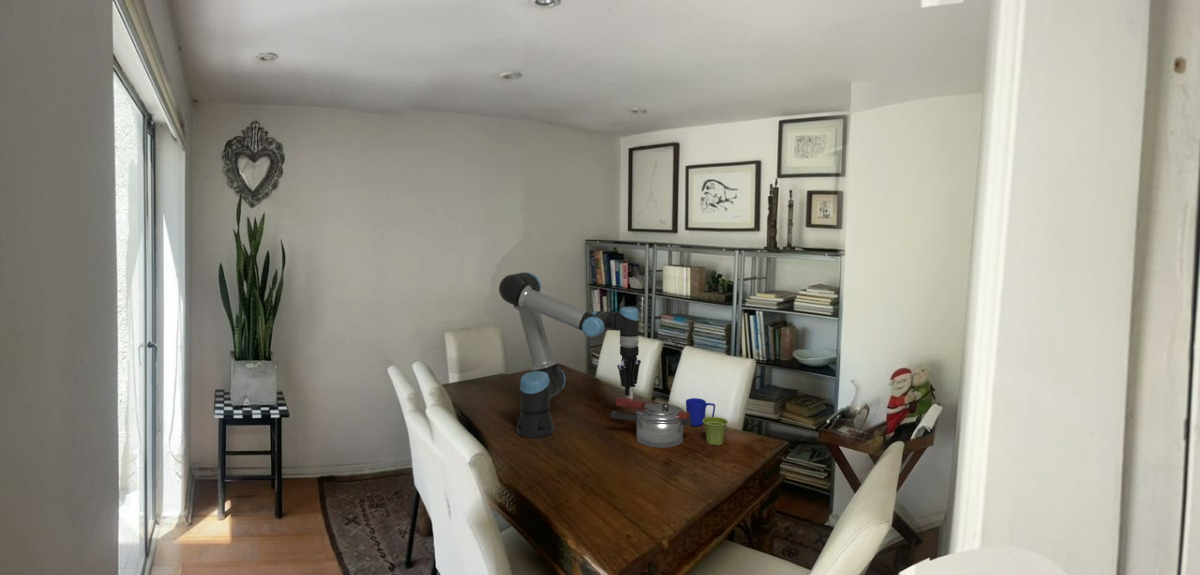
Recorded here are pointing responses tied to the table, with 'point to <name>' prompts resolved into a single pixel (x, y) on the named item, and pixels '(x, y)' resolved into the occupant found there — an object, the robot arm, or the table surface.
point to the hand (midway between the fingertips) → (629, 402)
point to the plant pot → (715, 430)
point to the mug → (697, 410)
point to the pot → (656, 430)
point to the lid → (653, 410)
